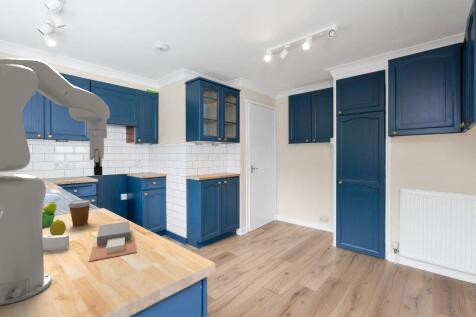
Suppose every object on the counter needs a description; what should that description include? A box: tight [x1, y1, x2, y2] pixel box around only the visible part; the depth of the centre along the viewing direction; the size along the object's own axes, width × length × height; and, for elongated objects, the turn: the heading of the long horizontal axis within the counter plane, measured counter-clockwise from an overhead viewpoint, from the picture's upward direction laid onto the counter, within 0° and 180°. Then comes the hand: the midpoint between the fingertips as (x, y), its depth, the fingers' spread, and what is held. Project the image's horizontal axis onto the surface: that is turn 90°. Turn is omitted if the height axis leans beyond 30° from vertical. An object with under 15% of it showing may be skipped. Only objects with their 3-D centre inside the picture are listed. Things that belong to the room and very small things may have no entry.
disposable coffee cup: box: [67, 199, 91, 227], centre depth 117 cm, size 10×10×12 cm
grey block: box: [96, 221, 132, 246], centre depth 99 cm, size 16×12×4 cm
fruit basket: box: [42, 201, 58, 228], centre depth 119 cm, size 11×9×11 cm
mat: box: [88, 239, 137, 263], centre depth 87 cm, size 13×15×1 cm
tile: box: [106, 237, 125, 253], centre depth 89 cm, size 9×6×2 cm, turn 26°
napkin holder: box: [43, 234, 70, 252], centre depth 89 cm, size 15×11×6 cm
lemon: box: [49, 219, 67, 236], centre depth 100 cm, size 6×6×8 cm
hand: (98, 175), depth 102 cm, fingers closed
